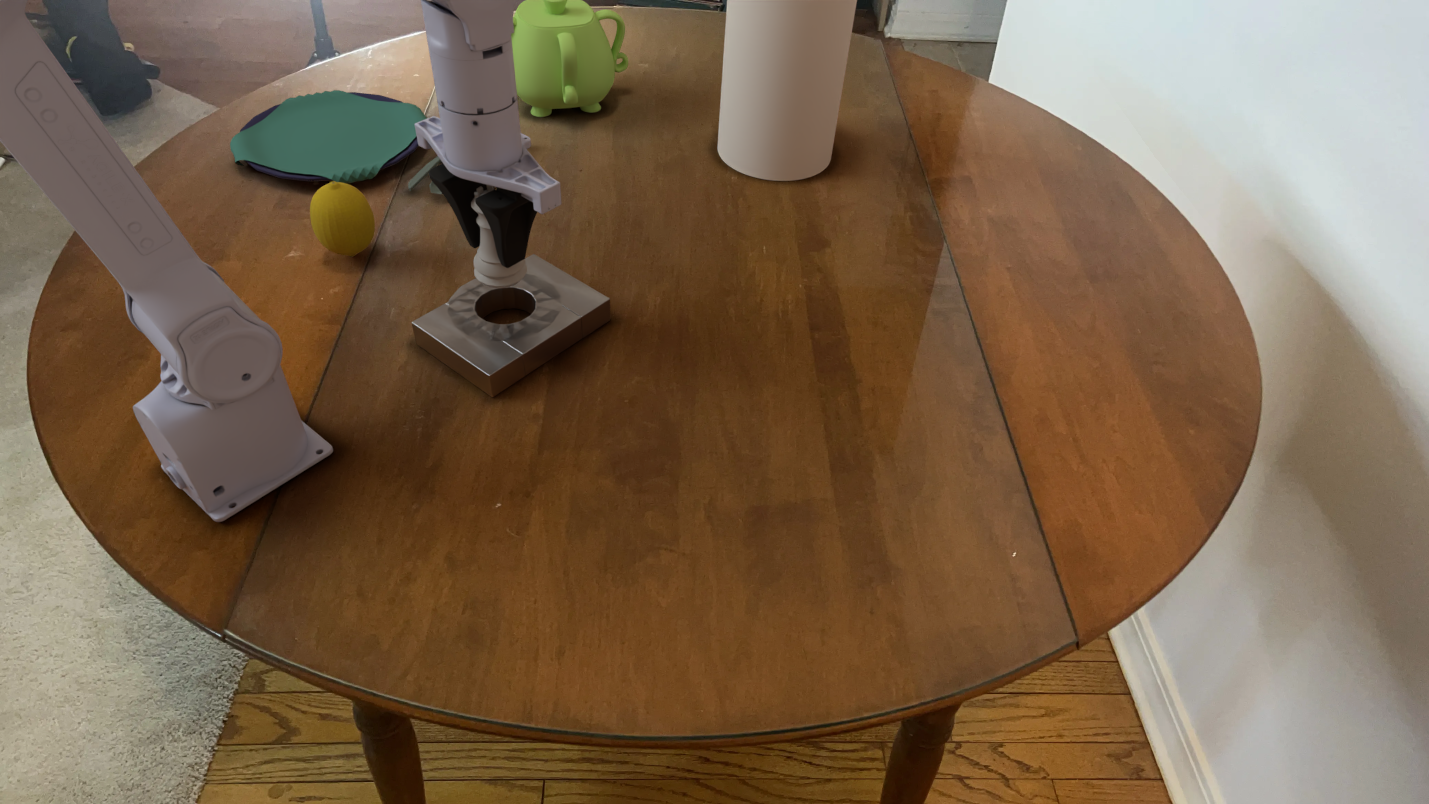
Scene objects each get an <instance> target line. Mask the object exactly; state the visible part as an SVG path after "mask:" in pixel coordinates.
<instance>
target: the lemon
mask: <svg viewBox="0 0 1429 804" xmlns="http://www.w3.org/2000/svg"><path fill="white" fill-rule="evenodd" d="M309 204H310V205H309V219H310V224H311V229H312V231H313V233H314V236H315V237H316V238H317V240H318V241H319V243H320V244H321V245H322V247H324V248H325V249H326V250H328V251H329V252H330V253H333V254H336V255H339V256H347V257H350V258H352V257H354V256H356V255H357V254H359V253H362V252H363V251H365V250H366V249H367V248H368V247H369V246H370V245H371V243H372V241H373V239H374V236H375V232H376V228H375V227H376V222H375V216H374V212H373V210H372V207H371V205H370V203H369V201H368V200H367V198H366V196H365V195H364V193H362V191H360V190H359V189H358V188H357V187H355V186H353V185H352V184H350V183H347V184H346V183H342V182H335V181H333V180H331V181H329V183H325V185H323V186H321V187H319V188H318V189H317V190H316V191H315V192H314V194H313V196H312V198H311V201H310V203H309Z"/></svg>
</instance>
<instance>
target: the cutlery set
mask: <svg viewBox="0 0 1429 804" xmlns="http://www.w3.org/2000/svg"><path fill="white" fill-rule="evenodd" d="M427 118H428V117H427V116H426V115H425V113H424V112H423V110H422V109H421V108H420V107H419V106H417V104H414V103H410V102H403V101H402V100H399V99H395V98H392V97H388V96H385V95H383V94H376V93H375V94H374V93H364V92H356V91H351V92H350V91H349V92H347V91H343V90H339V89H338V90H336V89H333V90H331V91H328V90H324V91H323V92H314V93H313V94H311V93H307V94H305V95H300V94H299V95H297V96H295V97H288V98H286V99H285V100H283V102H281V103H279V104H276V105H272V107H270V108H269V107H268V108H267V109H265V110H264V111H262V112H259V113H258V114H256V115H254V116H253V117H252V118H251V119H250V120H249V121H247V123H246V124H245V125H244V126H243V127H242V128H240V130H239V132H238V133H236V134H235V135H233V137H232V138H231V140H230V143H229V148H230V152H231V153H232V156H233V158H234V164H236V165H237V166H241V167H245V165H244V164H243V163H242V162H241V161H244V162H245V163H246V164H248V165H249V166H250V167H252V168H253V169H254V170H256V171H258V172H261V173H262V174H263V173H264V174H266V175H270V176H272V177H276V178H279V179H283V180H285V179H286V180H293V181H301V182H302V181H303V182H325V181H326V182H327V181H329V182H331V181H335V182H342V183H346V184H353V183H355V182H363V181H366V180H373V178H375V177H376V176H377V175H378V174H379V172H380V171H381V170H384V169H387V168H389V167H392V166H394V165H396V164H398V163H400V162H401V161H402V160H404V159H405V158H407V157H408V156H409V155H411V154H413V153H414V152H415V151H416V150H417V148H419V147H420V146H419V145H418V141H417V135H416V130H415V125H414V124H415V123H417V122H420V121H422V120H425V119H427ZM523 134H524V135H526V134H525V133H523ZM440 164H441V160H440V158H439V157H438V155H437V156H435V157H434V158H433V159H431V160H430V161H429V162H428V163H426V164H425V165H424V166H423V167H422V168H421V169H420V170H419V171H418V172H417V173H416V174H415V175H414V176H413V177H412V178H410V180H409V181H408V183H407V188H408V191H409V192H412V191H413V190H414V189H415V188H416V187H417V186H418V185H419V184H420V183H421V182H422V181H423V180H424V179H425V178H427V176H429V171H430V170H431V169H432V168H434V167H436V166H438V165H440ZM428 186H429V190H430V193H431V194H435V195H443V194H442V192H441V191H440V190H439V189H438V187H437V186H436V185H435V184H434V183H433V182H432V181H431V182H430V184H429V185H428Z"/></svg>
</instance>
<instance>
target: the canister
mask: <svg viewBox="0 0 1429 804" xmlns="http://www.w3.org/2000/svg"><path fill="white" fill-rule="evenodd" d="M857 2H858V0H726V10H725V11H726V12H725V13H726V14H725V25H724V26H725V27H724V42H723V56H722V71H721V72H722V73H721V87H720V101H719V102H720V104H719V116H718V118H719V119H718V120H719V121H718V131H717V132H718V133H717V146H716V148H717V153H718V156H719V157H720V159H721V160H722V161H723V162H724V163H725V164H726V165H727V166H728V167H730V168H731V169H733V170H735V171H736V172H738V173H741V174H744V175H746V176H749V177H753V178H757V179H761V180H767V181H775V182H788V181H789V182H792V181H799V180H804V179H808V178H812V177H814V176H816V175H819V174H820V173H822V172H823V171H824V170H825V169H827V168H828V166H829V165H830V163H831V160H832V154H833V150H834V149H833V148H834V143H835V135H836V131H837V125H838V118H839V114H840V113H839V112H840V106H841V101H842V100H841V99H842V93H843V87H844V81H845V77H846V70H847V63H848V57H849V51H850V46H851V39H852V34H853V33H852V32H853V27H854V22H855V16H856V15H855V14H856V9H857V4H858V3H857Z"/></svg>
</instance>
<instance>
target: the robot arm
mask: <svg viewBox="0 0 1429 804" xmlns="http://www.w3.org/2000/svg"><path fill="white" fill-rule="evenodd" d="M28 2H29V0H0V143H1V144H2V145H3V146H4V148H5V149H6V150H7V151H8V152H9V153H10V155H11V156H12V157H13V158H14V160H15V161H16V162H17V163H18V164H19V166H20V167H22V169H23V170H24V171H25V173H26V174H27V175H28V176H29V177H30V179H31V180H32V181H33V182H34V183H35V184H36V186H37V187H38V188H39V190H41V192H42V193H43V194H44V195H45V196H46V197H47V199H48V200H49V201H50V203H51V204H52V205H53V206H54V207H55V208H56V210H57V211H58V212H59V213H60V214H61V215H62V217H63V218H64V219H65V220H66V222H67V223H68V224H69V225H70V226H71V227H72V229H73V230H74V231H75V232H76V234H77V235H78V236H79V237H80V238H81V239H82V241H83V242H84V243H85V244H86V246H87V247H88V248H89V249H90V250H91V251H92V252H93V254H95V256H96V257H97V259H98V260H99V261H100V262H101V264H103V266H104V267H105V268H106V269H107V270H108V272H109V273H110V275H112V276H113V278H114V279H115V281H116V282H117V283H118V284H119V286H120V287H121V289H122V291H123V295H124V301H125V311H126V314H127V318H128V319H129V321H130V322H131V324H132V325H133V326H134V327H135V328H136V329H137V331H139V332H140V333H142V334H143V335H144V336H145V337H146V339H148V341H149V342H150V343H151V344H152V345H153V347H154V348H155V349H156V350H157V352H158V353H159V354H160V365H159V366H160V375H159V376H160V377H159V378H160V380H161V381H160V382H159V383H158V384H157V385H156V386H155V388H153V390H152V391H150V392H149V393H148V394H147V395H146V396H144V397H143V398H141V400H139V401H138V402H136V403H135V404H134V405H133V406H132V411H133V414H134V416H135V418H136V420H137V422H138V424H139V426H140V428H141V429H142V431H143V433H144V435H145V436H146V439H147V440H148V442H149V444H150V446H151V448H152V449H153V452H154V453H155V455H156V457H157V459H158V460H159V462H160V464H161V465H160V468H161V469H162V471H163V472H164V473H165V474H166V475H167V476H168V477H169V479H170V480H171V482H172V483H173V484H174V485H175V486H176V487H177V488H178V489H179V490H182V491H183V492H185V494H187V496H189V498H190V499H191V500H192V501H193V502H195V503H196V504H197V506H198V507H199V508H200V509H202V511H204V512H205V514H206V515H208V516H209V517H210V518H211V519H212V521H214V522H216V523H221V522H224V521H226V520H227V519H229V518H230V517H232V516H234V515H236V514H237V513H239V512H240V511H242V510H244V509H245V508H247V507H249V506H250V505H251V504H253V503H255V502H257V501H258V500H260V499H261V498H262V497H264V496H266V495H268V494H269V493H271V492H272V491H274V490H276V489H278V488H279V487H281V486H282V485H284V484H285V483H287V482H289V481H290V480H292V479H294V478H295V477H296V476H299V475H300V474H302V473H303V472H304V471H306V470H308V469H310V468H311V467H313V466H314V465H316V464H317V463H319V462H321V461H322V460H324V459H325V458H327V457H329V456H331V455H332V454H333V452H334V448H333V445H332V444H331V443H329V442H328V441H327V440H325V439H324V438H323V437H322V436H321V435H320V434H318V433H317V432H316V431H315V430H314V429H313V428H312V427H310V426H309V425H308V424H306V423H305V422H304V421H303V420H302V418H301V415H300V413H299V410H298V407H297V405H296V403H295V399H294V398H293V397H294V396H293V395H292V392H291V389H290V387H289V384H288V382H287V378H286V376H285V373H284V371H283V367H282V365H281V364H282V361H283V354H284V353H283V349H284V348H283V344H282V341H281V337H280V335H279V334H278V332H277V331H276V330H275V328H273V327H272V326H271V325H270V324H269V323H268V322H267V321H264V320H263V319H261V318H260V317H259V316H258V315H257V314H256V313H255V312H254V311H253V310H252V309H251V308H250V307H249V306H248V305H247V304H246V302H244V301H243V300H242V299H241V298H240V297H239V295H237V294H236V293H235V291H233V289H232V288H230V286H228V284H226V282H225V280H224V278H223V277H222V276H221V274H220V273H219V272H218V271H217V270H216V269H215V268H214V267H213V266H211V265H210V264H208V263H207V262H205V261H203V260H202V258H200V257H199V255H198V254H197V252H196V251H195V250H194V248H193V247H192V246H191V244H190V243H189V241H188V240H187V239H186V237H185V236H184V234H183V233H182V232H181V230H180V229H179V227H178V226H177V224H175V222H174V220H173V219H172V218H171V216H170V215H169V213H168V212H167V211H166V209H165V208H164V207H163V205H162V204H161V202H160V201H159V200H158V198H157V197H156V196H155V194H154V192H153V191H152V190H151V189H150V187H149V186H148V184H147V183H146V181H145V179H143V177H142V176H141V174H140V173H139V172H138V171H137V169H136V168H135V166H134V165H133V163H132V161H130V159H129V158H128V157H127V154H126V153H125V152H124V151H123V150H122V148H121V147H120V146H119V144H118V142H117V141H116V140H115V138H114V137H113V136H112V134H111V133H110V131H109V130H108V128H107V127H106V126H105V125H104V123H103V121H102V120H101V119H100V118H99V116H98V115H97V114H96V112H95V111H94V109H93V108H92V107H91V105H90V104H89V102H88V101H87V99H86V98H85V97H84V95H83V93H82V92H81V91H80V89H79V88H78V87H77V86H76V85H75V83H74V82H73V80H72V78H71V77H70V76H69V75H68V73H67V72H66V70H65V69H64V67H63V66H62V65H61V63H60V62H59V60H58V59H57V58H56V56H55V55H54V53H53V52H52V50H50V48H49V47H48V44H46V42H45V41H44V40H43V38H42V36H40V34H39V33H38V31H37V30H36V29H35V27H34V25H33V24H32V23H31V22H30V20H29V18H28V17H27V15H26V7H27V5H28ZM518 2H519V0H420V5H421V11H422V16H423V23H424V29H425V35H426V41H427V47H428V54H429V59H430V65H431V71H432V78H433V83H434V84H433V85H434V90H435V96H436V101H437V103H436V104H437V108H438V115H439V117H438V116H436V115H433V116H430V117H426V118H427V119H425V120H422V121H420V122H417V123H415V124H414V125H415V130H416V135H417V141H418V145H419V146H418V147H421V148H422V149H424V150H430V149H432V150H433V151H434V153H435V155H437V156H438V157H439V158H440V160H441V162H440V163H439V164H438V165H437V166H436V167H434V168H432V169H431V170H430V171H429V174H428V177H429V180H430V181H431V182H433V183H434V184H435V185H436V186H437V187H438V189H439V190H440V191H441V192H442V194H441V195H442V196H443V197H444V198H445V199H446V201H447V202H448V204H449V206H450V208H451V210H452V211H453V213H454V215H455V217H456V219H457V221H458V224H459V226H460V228H461V230H462V232H463V234H464V237H465V239H466V241H467V243H468V245H469V246H470V247H471V248H473V249H478V248H479V246H480V226H479V225H478V224H477V222H476V218H477V217H478V213H477V212H476V211H475V210H474V209H473V208H472V207H471V202H472V200H473V199H474V198H475V195H474V192H477V188H479V187H480V186H481V187H483V191H484V190H487V185H490V186H493V189H494V190H492V191H490V192H488V193H486V194H484V195H482V196H480V197H478V198H475V202H476V204H477V206H478V207H479V208H480V210H481V211H482V212H483V214H484V216H485V218H486V219H487V222H488V224H489V226H490V229H491V231H492V234H493V238H494V242H495V247H496V251H497V255H498V258H499V261H500V263H501V265H502V266H504V267H506V268H509V267H511V266H513V265H515V264H517V263H518V262H520V261H522V260H524V259H525V258H526V255H527V250H528V245H529V239H530V236H531V230H532V228H533V224H534V221H535V218H536V216H537V214H538V213H539V214H541V215H545V214H547V213H548V212H550V211H553V210H554V209H556V208H557V207H560V206H561V205H562V204H563V203H562V190H561V182H560V181H559V180H556V179H555V178H553V177H552V176H551V175H549V174H548V173H547V171H545V169H544V168H543V167H542V166H541V164H540V163H539V162H538V161H537V159H536V158H535V157H534V156H533V155H532V154H531V152H529V150H528V149H530V148H531V147H532V139H531V137H530V136H528V135H527V134H525V133H522V131H521V130H522V129H521V122H520V121H521V120H520V112H519V101H518V95H517V89H516V79H515V69H514V59H513V49H512V38H511V34H512V33H514V25H513V17H514V14H515V8H516V6H517V4H518ZM524 134H525V135H524ZM495 188H496V189H495Z"/></svg>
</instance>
